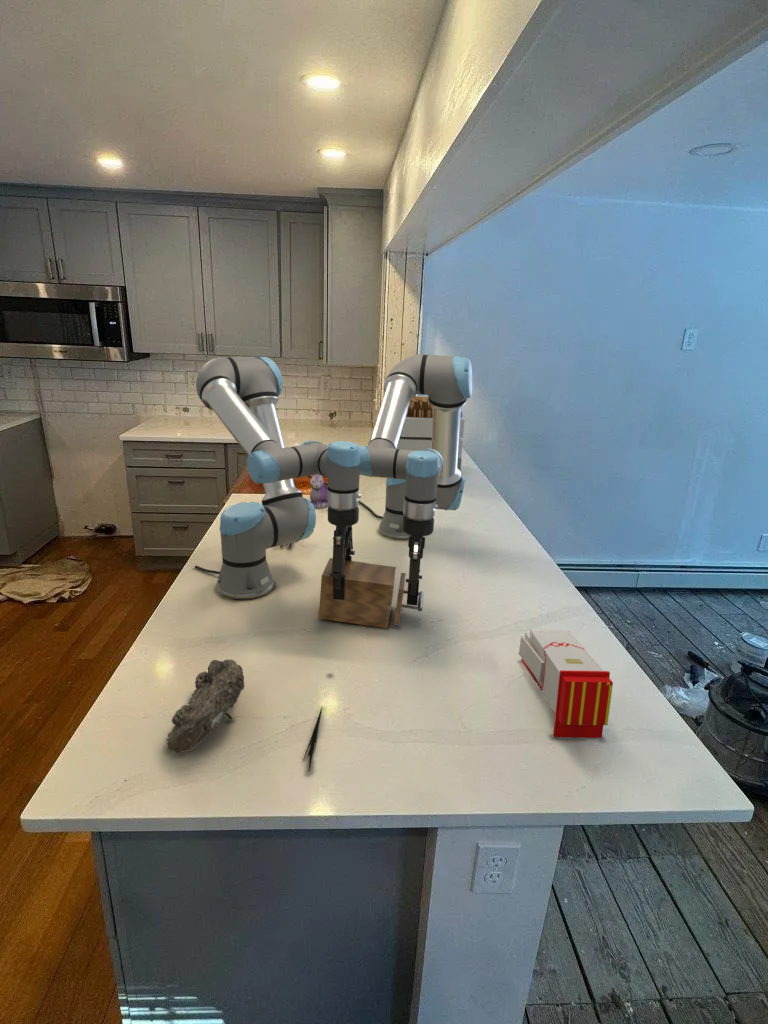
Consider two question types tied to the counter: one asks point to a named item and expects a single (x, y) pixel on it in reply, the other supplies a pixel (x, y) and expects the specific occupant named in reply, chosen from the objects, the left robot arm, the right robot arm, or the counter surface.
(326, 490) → the figurine
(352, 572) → the cabinet
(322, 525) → the counter surface
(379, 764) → the counter surface
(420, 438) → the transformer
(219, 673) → the fossil
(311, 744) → the feather
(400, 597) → the drawer
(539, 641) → the toy
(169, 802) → the counter surface
